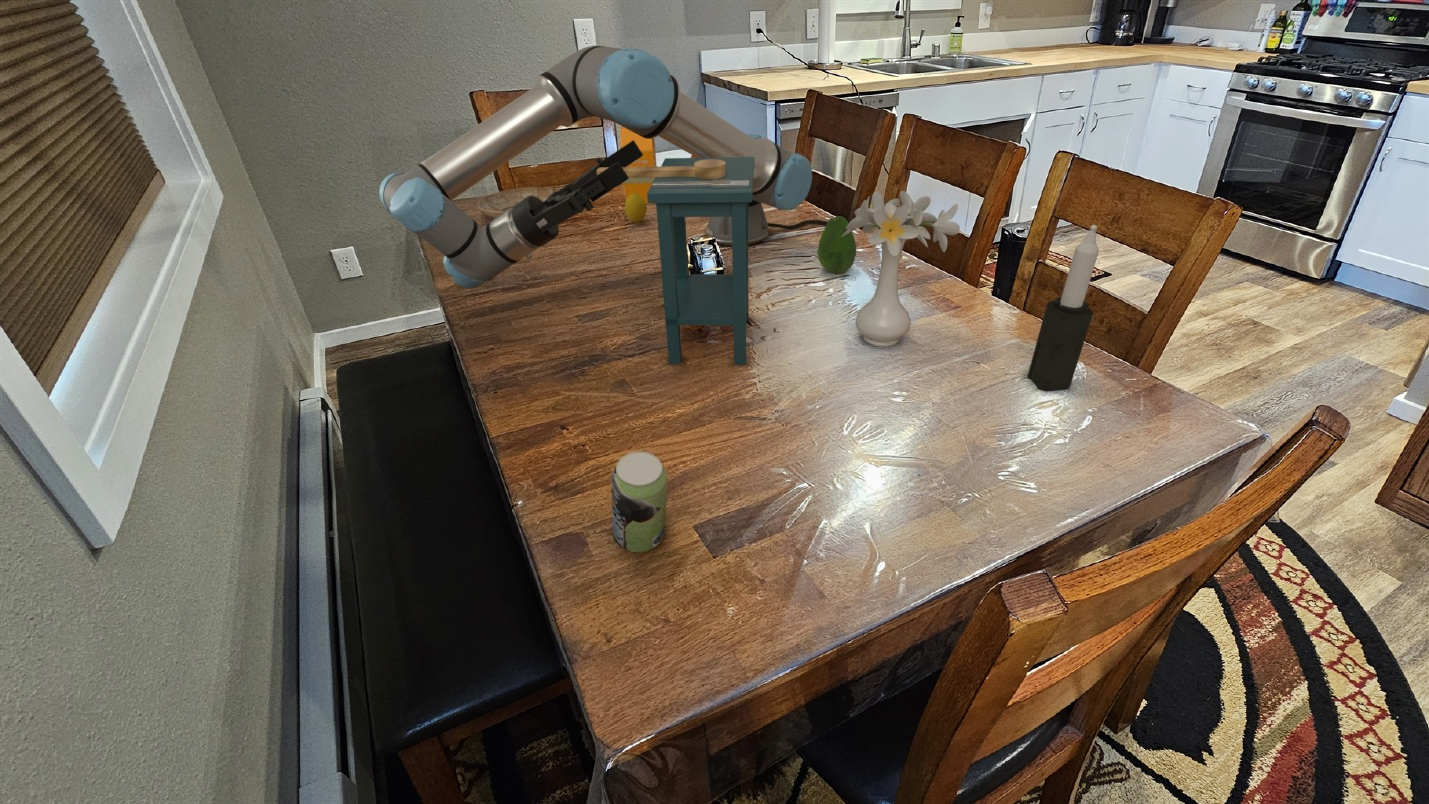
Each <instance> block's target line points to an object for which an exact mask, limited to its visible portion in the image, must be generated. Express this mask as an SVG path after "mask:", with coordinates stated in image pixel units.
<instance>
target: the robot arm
mask: <svg viewBox="0 0 1429 804" xmlns="http://www.w3.org/2000/svg"><path fill="white" fill-rule="evenodd" d="M592 117H593V118H595V117H596V118H598V119H603V120H605V121H610V122H613V123H615V124H617V125H619V126H620V127H625V128H626V129H628V130H630V131H632V132H634V133H636V134H638V135H639V136H641V137H643V138H646V139H653V138H654V139H655V138H657V137H659V138H661V139H662V140H665V141H666V142H668V143H670V144H672V145H674V146H675V147H677V148H679V149H681V150H682V151H684V152H686V153H688V154H690V155H691V156H692V155H693V156H695V157H697V158H716V157H754V179H753V196H752V202H748V246H752V245H753V246H754V245H757V244H760V243H762V242H765V241H766V240H767V239H768V238H769V235H770V229H769V228H778V229H784V230H793V229H797V228H799V227H801V226H804V225H808V224H820V225H825V226H826V225H827V223H828V221H829V220H828V221H826V220H822V219H808V220H802V221H800V222H797V223H795V224H792V225H791V224H789V225H785V224H780V223H770V222H768V220H767V218H766V213H765V211H764V207H763V204H764V205H766V206H769V207H772V208H774V209H776V210H779V211H793V210H796V209H797V208H798V207H799V206H801V205H802V204H803V203H804V201H805V200H806V198H807V197H808V196H809V195H808V194H809V192H810V190H811V187H812V183H813V167H812V164H811V162H810V160H809V159H808V158H807V157H806V156H804V155H802V154H801V153H798V152H795V153H794V152H791V151H788V150H787V149H784V148H783V147H781V146H780V145H778V144H777V143H776V142H774V141H772V139H771V140H770V139H769V138H766V137H762V136H761V135H760V134H747V133H746V132H743V130H740V129H739V128H738V127H736V126H735V125H733V124H731V123H730V122H728V121H727V120H725V119H724V118H722V117H721V116H718V115H717V114H716V113H715V112H713V111H711V110H709V109H708V108H706V107H705V106H703V105H701V104H700V103H699V102H697V101H696V100H694V99H692V98H691V97H689V96H688V95H686V94H685V93H683V92H681V89H680V84H679V81H678V80H677V78H676V77H675V76H673V75H672V74H671V72H670V71H669V69H668V68H667V66H666V65H665V63H664V62H663V61H662V60H660V58H658V57H657V56H655V55H653V54H651V53H649V52H647V51H646V50H643V49H638V48H620V47H619V48H618V47H612V46H605V45H590V46H586V47H583V48H581V49H579V50H577V51H575V52H573V53H571V54H570V55H568V56H567V57H565V58H563V59H562V60H560V61H559V62H557V63H556V64H554V65H553V66H551V67H550V68H548V69H547V70H546V71H545V72H542V73H540V75H538V76H537V77H536V78H535V85H534V86H533V87H532V88H531V89H529V90H527V91H525V93H523V94H521V95H519V97H517V98H516V99H514V100H512V101H511V102H510V103H508V104H506V105H505V106H503V107H502V108H501V109H499V110H497V111H496V112H494V113H493V114H491V115H490V116H489V117H488V118H486V119H484V120H483V121H481V122H479V123H478V124H477V125H475V126H474V127H472V128H471V129H469V130H467V131H466V132H465V133H464V134H462V135H460V136H459V137H457V138H456V139H454V140H453V141H452V142H450V143H448V144H447V145H445V146H444V147H442V148H441V149H440V150H438V151H436V152H434V154H432V155H431V156H429V157H428V158H426V159H425V160H423V161H422V162H420V163H418V164H417V165H415V166H413V167H412V168H410V169H409V170H408V171H406V172H399V171H398V172H392V173H390V174H389V175H387V176H386V177H384V179H383V180H382V181H381V183H380V186H379V192H378V194H379V200H380V201H381V204H382V205H383V207H384V208H385V210H386V212H388V214H390V216H392V217H393V218H394V219H395V220H397V221H398V222H399V223H400V224H401V225H402V226H403V227H405V229H407V230H408V231H409V232H412V233H413V234H415V235H416V236H418V237H419V238H420V239H422V240H423V241H424V242H426V243H427V244H428V245H430V246H431V247H433V248H434V249H436V250H437V251H438V252H440V253H441V254H442V255H443V257H442V263H443V267H444V270H445V273H446V274H447V275H448V276H450V277H451V278H452V280H453V282H454V283H455V284H457V286H460V287H462V288H463V289H464V288H465V289H470V290H471V289H476V288H478V287H480V286H481V285H483V284H485V283H487V282H490V281H492V280H493V279H495V277H497V276H498V275H499V274H501V273H502V272H504V271H505V270H507V269H508V268H510V267H511V266H513V265H515V264H517V263H518V262H520V261H521V260H523V259H524V258H526V259H527V260H530V259H532V258H533V256H532V255H533V254H532V253H533V252H535V251H537V250H538V249H539V248H540V247H543V246H546V245H547V244H548V243H550V242H551V241H553V240H554V239H556V238H557V237H558V236H559V232H560V228H559V224H561V223H562V222H564V221H566V220H568V219H570V218H572V217H574V216H576V215H578V214H581V213H583V212H584V210H585V209H586V211H587V212H590V211H591V210H593V209H594V208H595V206H594V205H593V203H594V202H595V201H597V200H598V199H600V198H602V197H603V196H604V195H606V194H608V193H609V192H611V191H613V190H614V189H615V188H617V187H619V186H620V185H621V184H624V182H625V181H626V180H628V179H629V177H628V176H627V174H626V173H625V171H624V170H623V168H622V167H627V166H628V165H630V164H631V163H633V162H634V161H636V160H637V159H639V158H640V157H642V156H643V154H642V152H641V151H640V149H639V147H638V146H637V144H636V143H635V141H634V140H633V141H631V142H630V143H628V144H627V145H625V146H624V147H622V148H621V147H620V149H617V150H616V151H615V152H613V153H612V154H610V155H609V156H607V157H606V158H605V159H601V157H598V158H597V159H595V161H596V164H595V165H594V166H592V167H591V168H589V169H588V170H587V171H586V172H584V173H582V174H581V175H580V176H578V177H577V178H575V179H574V180H573V181H571V182H570V183H566V184H565V185H564V186H563V187H561V188H560V189H558V190H559V191H556V192H554V193H552V194H551V195H550V196H548V198H547V199H546V200H545V201H544V202H543V201H541V200H540V199H539V198H537V197H535V196H528V197H526V198H525V199H523V200H522V201H521V202H519V203H518V204H516V205H515V206H514V207H513V208H511V209H508V210H507V211H505V212H504V213H502V214H501V215H499V216H498V217H496V218H495V219H493V220H492V219H491V221H490V222H488V223H486V224H485V225H483V226H481V225H480V224H479V223H478V222H477V221H476V220H474V219H473V218H472V217H471V216H469V215H468V214H467V213H466V212H465V211H463V210H462V209H461V208H460V207H458V205H456V204H455V203H454V202H453V201H454V200H455V199H457V198H458V197H459V196H461V195H462V194H464V193H465V192H466V191H468V190H469V189H471V188H472V187H473V186H475V185H477V184H478V183H479V182H481V181H483V180H484V179H485V178H487V177H488V176H490V175H491V174H493V173H495V171H497V170H498V169H500V168H501V167H502V166H504V165H506V164H507V163H509V162H510V161H512V160H513V159H515V157H517V156H518V155H520V154H522V153H523V152H524V151H526V150H527V149H529V148H530V147H532V146H533V145H534V144H536V143H537V142H539V141H540V140H542V139H543V138H545V137H546V136H548V135H549V134H550V133H552V132H553V131H555V130H556V129H557V128H559V127H565V128H570V127H572V126H573V125H574V124H576V123H577V122H579V121H581V120H584V119H587V118H592ZM601 167H609V168H607V169H606V170H604V171H603V172H601V173H600V174H598V175H597V169H598V168H601ZM855 217H856V216H854V217H852V218H850V219H848V220H847V221H848V223H850V222H851V221H852V220H853V219H855ZM705 232H706V233H705V234H706V238H707V237H714V238H715V239H716V240H717V244H716V245H718V246H719V245H720V246H725V247H732V216H731V217H708V222H707V225H706V229H705Z"/></svg>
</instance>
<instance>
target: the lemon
mask: <svg viewBox="0 0 1429 804" xmlns="http://www.w3.org/2000/svg"><path fill="white" fill-rule="evenodd" d="M624 213H625V216H626V218H627V219H628V220H629V221H630V222H633V223H634V224H636V225H638V224H639V223H640V222H642V221H644V219H645V218H646V216H647V204H645V201H644V199H643V198H642V197H641V196H640V195H638V194H636V193H633V194H632V195H630V196H629V197H628V198H627V199H625V202H624Z"/></svg>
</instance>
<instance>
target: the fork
mask: <svg viewBox="0 0 1429 804" xmlns="http://www.w3.org/2000/svg"><path fill="white" fill-rule="evenodd" d="M653 188H712V189H724V188H749V180H713V181H666V182H654V183H653Z"/></svg>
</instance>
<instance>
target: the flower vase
mask: <svg viewBox="0 0 1429 804" xmlns="http://www.w3.org/2000/svg"><path fill="white" fill-rule="evenodd" d="M931 200H932V199H931V197H929V196H927V195H924V196H921V197H919V198H918V199H917V200H915V202H914V201H913V200H912V197H911V196H910V195H909V193H908V192H906V191H905V190H901V191H900V192H899V198H893V199H891V200H889V201H888V202H887V203H886V204H885V199H884V196H883V194H882V193H881V192H880V191H879V190H876V191H874V192H873V193H872V196H871V200H870V196H868V197H867V199H864V200H863V201H862V203H861V205H860V207H859V208H857V209H855V211H854V215H855V216H854V217H855V219H853V220H852V221H851V222H850V223H849V224H848V225H847V227H846V229H848V230H847V231H846V232H845V233H844V234H843V235H842V236H844V235H846V234H848V233H850V232H851V231H852V232H853V231H856V230H859V229H860V228H862V233H863V234H867V233H870V232H871V231H873V230H874V229H876V228H878V229H876V230H875V231H873V232H872V233H871V234H870V235H869V237H868V239H867V242H868V243H869V244H870V245H872V246H875V245H881V262H880V267H879V268H880V270H879V276H878V280H877V285H876V288H875V291H874V293H873V295H872V297H871V299H870V300H869V301H867V303H865V304H864V305H863V306H862V307H861V308H860V309H859V311H858V312H857V314H856V316H855V317H856V318H855V321H854V323H855V325H856V329H857V330H858V331H859V333H860V334H861V335H862V337H863V340H864V341H865V342H866V343H867V344H869V345H871V346H875V347H880V348H881V347H882V348H883V347H885V348H886V347H892V346H895V345H896V344H897V343H899V341H900V339H901V338H902V337H904V336H905V335H906V334H907V333H908V332H909V331H910V329H911V324H912V320H911V316H910V314H909V312H908V310H907V308H906V307H904V306H903V304H902V303H901V300H900V297H899V289H898V287H899V271H900V262H901V257H902V253H903V249H904V246H905V244H906V241H907V240H912V239H915V238H916V239H917V240H918V241H920V242H921V243H922V244H923V245H924V246H925V247H926V248H929V244H928V243H927V241H926V240H931V234H930V233H929V231H928V230H927V228H926V227H924V226H928V227H929V226H930V227H932V228H933V234H932V235H933V236H932V242H933V243H936V242H938V243H939V246H940V249H941V250H940V251H942V253H945V252H946V251H947V248H948V237H947V235H949V236H956V235H957V234H959V232H960V231H961V226H960V224H959V223H957V222H955V221H951V220H952V219H953V218H954V217H955V216H956V214H957V212H958V209H959V204H958V203H955V204H953V205H952V206H951V207H950V208H949V209H948V210H947V211H946V212H945V210H944V209H942V210H940V212H939V214H938V217H936V216H935V215H934V214H932V213H929V212H924V211H926V209H928V207H929V206H930V204H931ZM870 201H871V202H870ZM869 202H870V203H871V208H870V207H869ZM900 203H901V205H900ZM899 205H900V206H899ZM842 236H841V237H842Z"/></svg>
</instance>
